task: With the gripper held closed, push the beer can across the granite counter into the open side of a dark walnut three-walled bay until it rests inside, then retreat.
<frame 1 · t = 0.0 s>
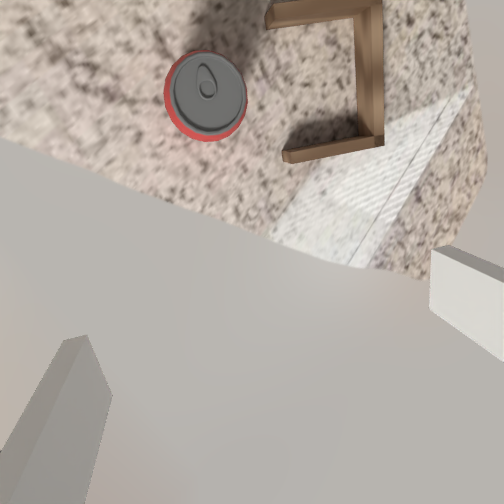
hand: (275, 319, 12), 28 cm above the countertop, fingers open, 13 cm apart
beer can: (200, 106, 35), on the countertop
walnut bay: (315, 87, 37), on the countertop
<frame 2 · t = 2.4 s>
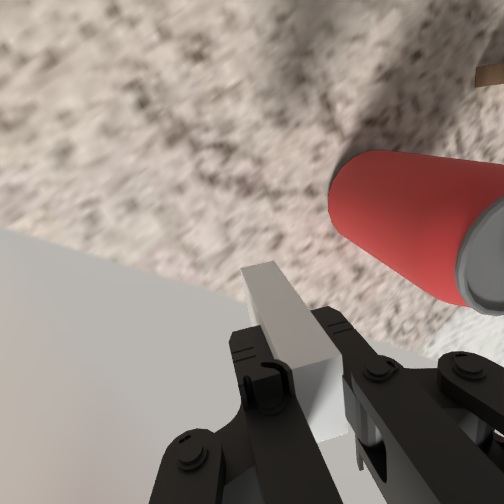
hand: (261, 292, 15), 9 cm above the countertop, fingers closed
beer can: (365, 195, 24), on the countertop
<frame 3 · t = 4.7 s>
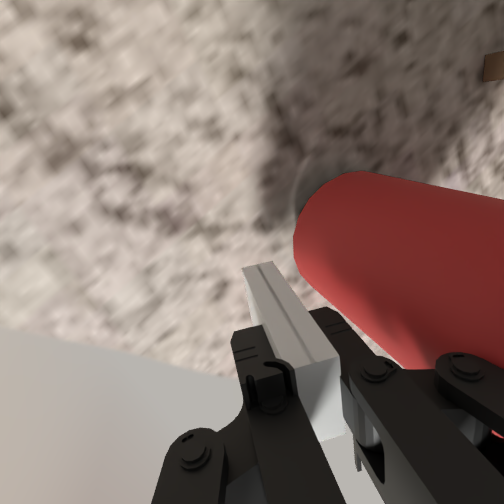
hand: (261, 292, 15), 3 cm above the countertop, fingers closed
beer can: (340, 230, 18), on the countertop, touching gripper, hand
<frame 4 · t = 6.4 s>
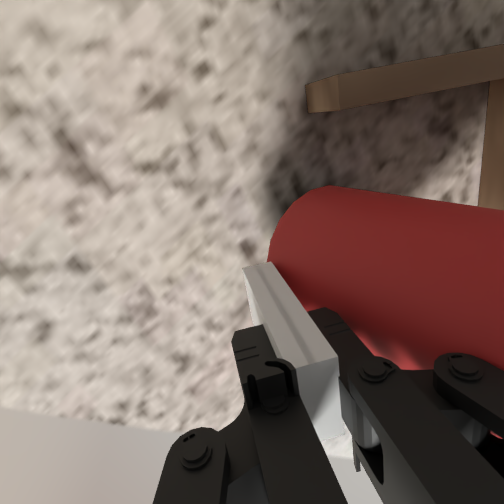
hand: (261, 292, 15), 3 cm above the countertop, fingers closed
beer can: (311, 248, 17), point 1 cm above the countertop, touching gripper, hand
walnut bay: (401, 212, 18), on the countertop
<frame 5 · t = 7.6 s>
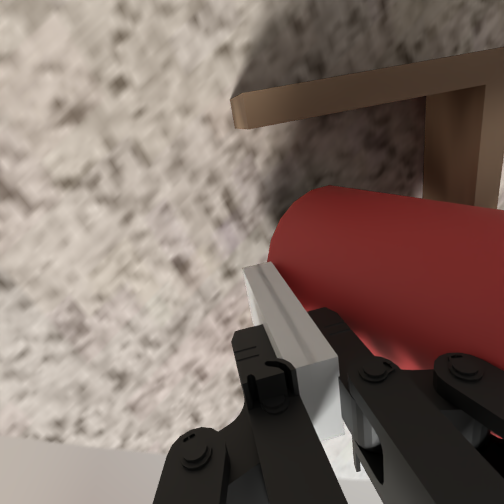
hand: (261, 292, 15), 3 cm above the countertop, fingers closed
beer can: (311, 248, 17), point 1 cm above the countertop, touching gripper, hand
walnut bay: (341, 228, 18), on the countertop
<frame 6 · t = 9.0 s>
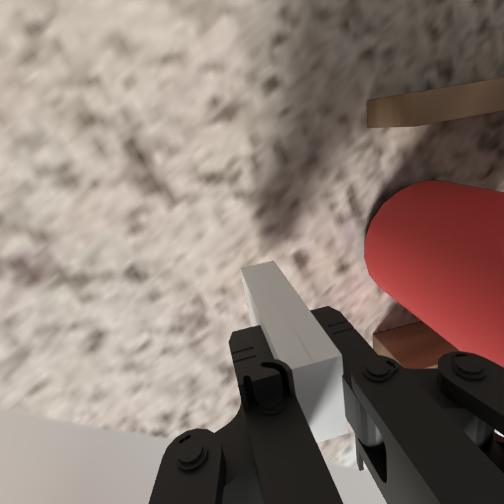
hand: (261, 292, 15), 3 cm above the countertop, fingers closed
beer can: (410, 237, 19), on the countertop
walnut bay: (448, 225, 19), on the countertop
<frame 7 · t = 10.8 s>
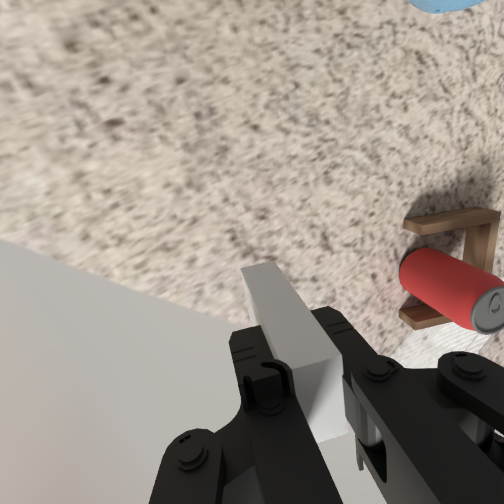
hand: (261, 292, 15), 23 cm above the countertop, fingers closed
beer can: (417, 268, 45), on the countertop
walnut bay: (432, 264, 45), on the countertop
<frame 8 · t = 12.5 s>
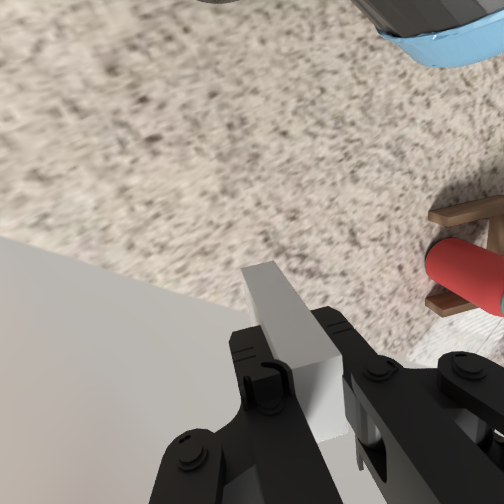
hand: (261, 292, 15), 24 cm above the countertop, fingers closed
beer can: (442, 257, 47), on the countertop
walnut bay: (457, 253, 47), on the countertop
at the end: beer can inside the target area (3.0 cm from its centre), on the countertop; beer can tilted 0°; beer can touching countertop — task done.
